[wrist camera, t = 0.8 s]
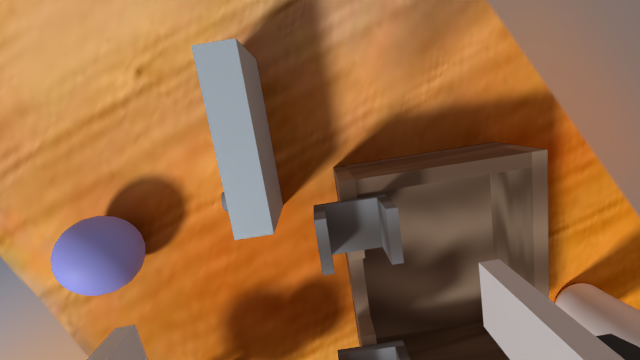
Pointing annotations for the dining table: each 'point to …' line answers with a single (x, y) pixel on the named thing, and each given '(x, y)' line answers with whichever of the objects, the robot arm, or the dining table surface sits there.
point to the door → (240, 136)
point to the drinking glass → (600, 312)
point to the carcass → (434, 245)
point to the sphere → (98, 255)
